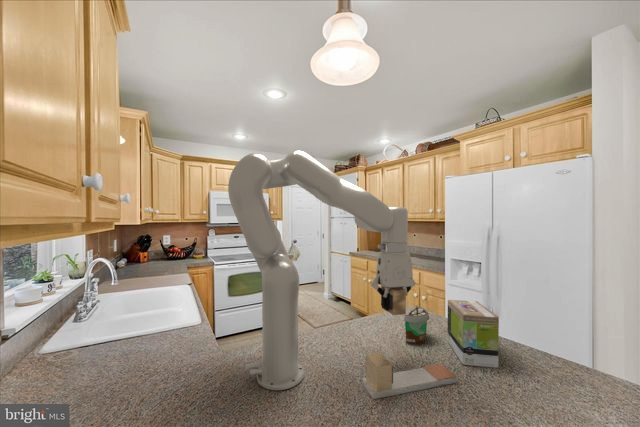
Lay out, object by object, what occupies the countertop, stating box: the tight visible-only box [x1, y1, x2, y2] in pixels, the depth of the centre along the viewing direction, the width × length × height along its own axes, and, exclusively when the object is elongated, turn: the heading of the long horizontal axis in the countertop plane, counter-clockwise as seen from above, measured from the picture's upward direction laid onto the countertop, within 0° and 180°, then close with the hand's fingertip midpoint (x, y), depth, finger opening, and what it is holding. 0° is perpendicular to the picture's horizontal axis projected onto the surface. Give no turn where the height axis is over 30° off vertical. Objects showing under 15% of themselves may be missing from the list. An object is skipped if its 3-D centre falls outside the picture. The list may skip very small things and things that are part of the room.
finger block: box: [387, 287, 407, 316], centre depth 81 cm, size 5×6×7 cm
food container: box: [404, 305, 430, 345], centre depth 94 cm, size 12×6×10 cm, turn 143°
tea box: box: [446, 299, 500, 369], centre depth 85 cm, size 15×10×15 cm, turn 171°
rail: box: [361, 352, 458, 400], centre depth 70 cm, size 24×6×8 cm, turn 105°
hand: (393, 308), depth 81 cm, fingers closed on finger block, 4 cm apart
